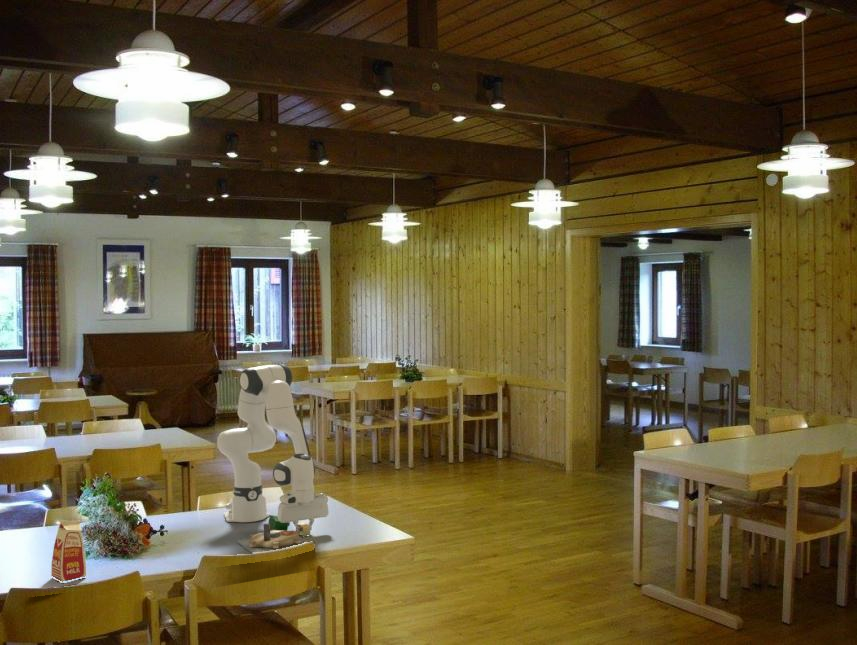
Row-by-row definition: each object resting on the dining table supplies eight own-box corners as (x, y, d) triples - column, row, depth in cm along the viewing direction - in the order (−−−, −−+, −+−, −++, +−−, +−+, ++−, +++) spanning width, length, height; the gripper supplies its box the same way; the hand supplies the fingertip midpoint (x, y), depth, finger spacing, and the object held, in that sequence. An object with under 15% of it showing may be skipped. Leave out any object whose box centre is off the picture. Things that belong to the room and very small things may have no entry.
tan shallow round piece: (238, 546, 315) (237, 524, 315) (262, 533, 333) (261, 513, 333) (288, 549, 309) (287, 527, 309) (310, 536, 327) (309, 515, 327)
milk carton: (62, 584, 278) (61, 523, 278) (49, 578, 284) (48, 519, 284) (89, 577, 285) (88, 517, 285) (76, 572, 291) (75, 514, 291)
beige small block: (297, 534, 337) (297, 523, 336) (304, 532, 338) (304, 522, 338) (303, 537, 331) (302, 526, 331) (310, 536, 333) (310, 525, 333)
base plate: (237, 542, 325) (237, 540, 325) (291, 534, 336) (291, 532, 336) (256, 556, 306) (256, 553, 306) (313, 546, 317) (313, 544, 317)
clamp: (284, 544, 338) (291, 525, 335) (269, 542, 335) (276, 523, 333) (280, 526, 348) (287, 508, 346) (266, 524, 346) (273, 506, 343)
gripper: (324, 491, 342) (325, 525, 343) (275, 497, 332) (276, 532, 332) (330, 493, 337) (331, 528, 337) (281, 500, 327) (282, 536, 327)
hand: (303, 530), depth 335 cm, fingers closed on beige small block, 3 cm apart
